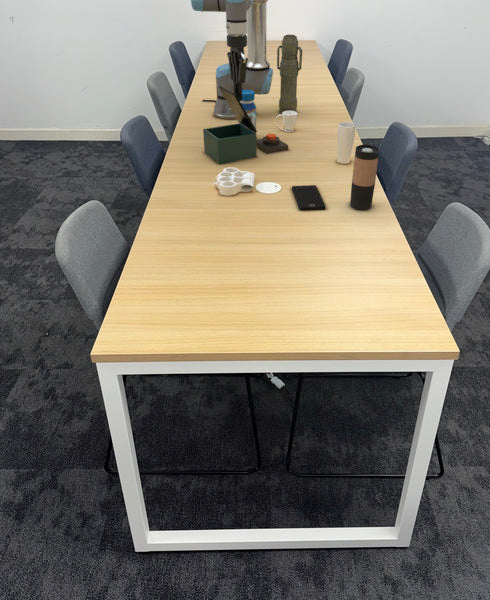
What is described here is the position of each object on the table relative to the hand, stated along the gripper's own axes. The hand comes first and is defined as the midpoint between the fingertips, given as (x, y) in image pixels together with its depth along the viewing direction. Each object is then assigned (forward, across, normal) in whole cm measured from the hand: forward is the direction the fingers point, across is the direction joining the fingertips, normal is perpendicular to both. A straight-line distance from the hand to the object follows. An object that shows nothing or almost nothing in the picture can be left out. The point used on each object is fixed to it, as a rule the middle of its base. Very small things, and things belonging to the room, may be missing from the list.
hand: (238, 100), depth 214 cm
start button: (+18, 0, +15) cm, 23 cm away
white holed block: (+21, +28, -16) cm, 39 cm away
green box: (+21, 0, -4) cm, 22 cm away
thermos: (+21, -40, +47) cm, 66 cm away
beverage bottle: (+21, -14, +11) cm, 28 cm away
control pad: (+21, 0, +15) cm, 26 cm away
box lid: (+4, 0, -1) cm, 4 cm away
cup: (+21, -16, +32) cm, 42 cm away
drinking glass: (+22, +28, +33) cm, 48 cm away
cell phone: (+21, +50, +2) cm, 55 cm away
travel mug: (+22, +64, +15) cm, 69 cm away
